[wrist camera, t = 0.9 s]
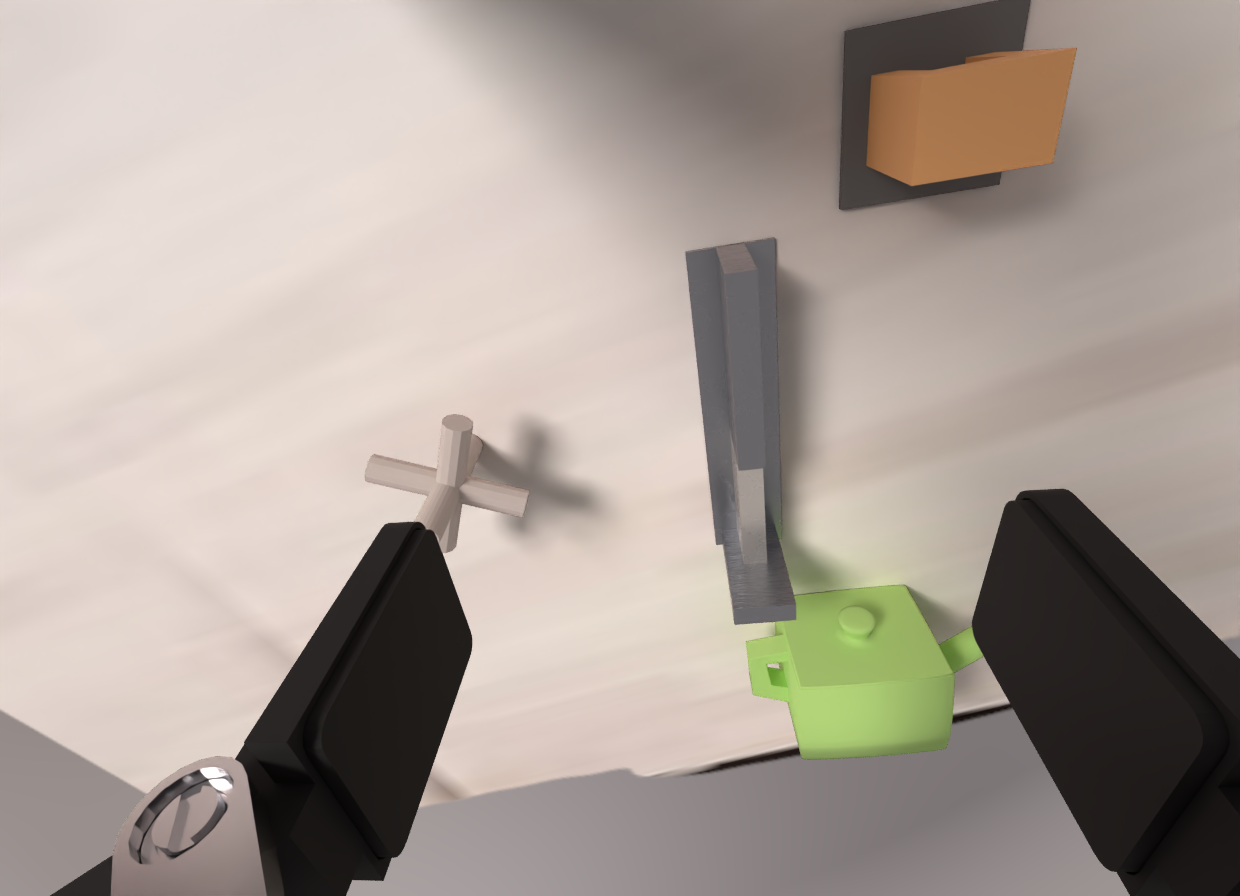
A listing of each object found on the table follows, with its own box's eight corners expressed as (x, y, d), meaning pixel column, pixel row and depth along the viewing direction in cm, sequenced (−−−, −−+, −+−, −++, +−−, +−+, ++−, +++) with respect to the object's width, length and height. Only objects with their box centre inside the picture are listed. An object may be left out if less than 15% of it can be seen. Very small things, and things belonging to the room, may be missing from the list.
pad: (844, 30, 27) (847, 30, 27) (1026, -6, 26) (1031, -7, 26) (839, 208, 32) (841, 209, 31) (995, 183, 31) (999, 184, 30)
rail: (685, 251, 33) (693, 297, 27) (774, 237, 33) (805, 280, 26) (716, 543, 45) (727, 625, 39) (781, 537, 45) (804, 619, 38)
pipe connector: (552, 402, 39) (524, 492, 31) (527, 512, 45) (498, 614, 36) (403, 364, 38) (332, 447, 30) (396, 482, 44) (335, 580, 35)
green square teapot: (966, 558, 46) (1036, 656, 38) (954, 644, 51) (1014, 747, 42) (736, 584, 48) (754, 681, 40) (745, 664, 53) (764, 766, 45)
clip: (871, 75, 28) (921, 76, 23) (995, 52, 27) (1076, 47, 22) (866, 165, 30) (911, 185, 25) (981, 146, 29) (1052, 162, 24)
